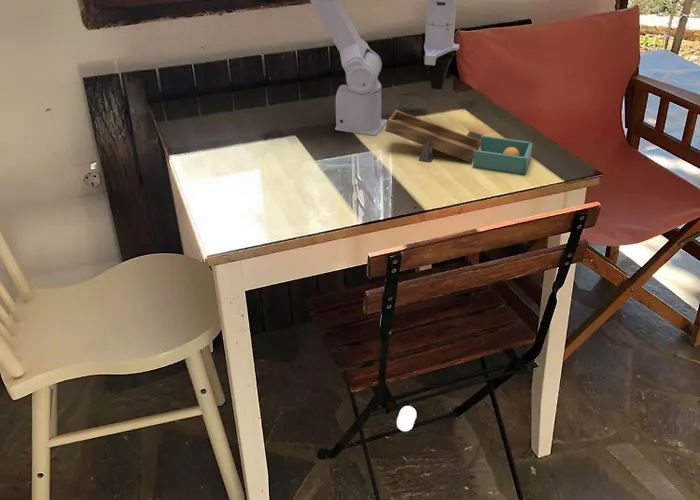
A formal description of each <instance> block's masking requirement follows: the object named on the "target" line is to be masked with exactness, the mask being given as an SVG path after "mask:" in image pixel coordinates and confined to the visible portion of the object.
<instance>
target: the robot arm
mask: <svg viewBox="0 0 700 500" xmlns="http://www.w3.org/2000/svg"><path fill="white" fill-rule="evenodd" d="M309 1H310V2H311V4H312V6H313V8H314V10H315V11H316V14H317V15H318V16H319V18H320V20H321V23H323V26H324V27H325V29H326V31H327V32H328V34H329V36H330V38H331V40H332V41H333V43H334V45H335V46H336V49H337V51H338V52H339V55H340V62H341V66H342V68H343V70H344V72H345V82H346V84H341V85H339V87H338V89H337V91H336V94H335V124H336V125H335V128H334V130H335V131H338V132H339V131H340V132H346V133H353V134H361V135H368V136H374V137H375V136H378V134H379V132H380V131H381V130H382V129H383V128H384V126H386V125H387V121H388V119H385V118H382V84H381V82H380V81H379V78H378V77H379V75H380V73H381V71H382V68H383V67H382V66H383V64H382V59H381V57H380V56H379V54H378V53H376V52H375V51H373V50H372V49H371V47H370V46H369V45H368V43H367V41H365V40H364V39H363V38H361V36H360V35H359V33H358V31H357V28H356V27H355V25H354V23H353V22H352V20H351V18H350V16H349V14H348V12H347V11H346V9H345V6H344V5H343V3H342V1H341V0H309ZM456 17H457V0H426V16H425V19H426V20H425V40H424V41H425V42H424V43H423V49H424V54H423V55H422V61H423V63H424V65H425V67H426V68H427V72H428V77H429V82H430V86H431V89H433V90H442V89H443V87H444V85H445V81H446V77H447V73H448V69H449V67H450V64H451V62H452V60H453V58H454V57H455V52H454V51H458V50H460V44H459V43H455V29H456Z"/></svg>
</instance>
